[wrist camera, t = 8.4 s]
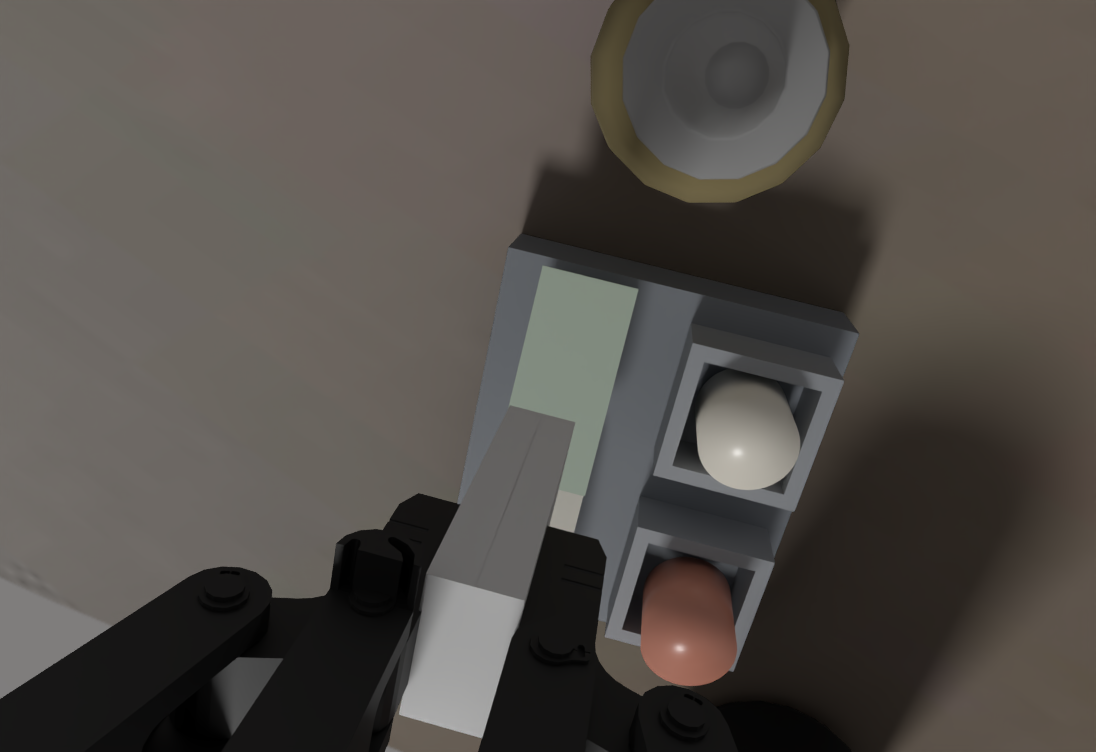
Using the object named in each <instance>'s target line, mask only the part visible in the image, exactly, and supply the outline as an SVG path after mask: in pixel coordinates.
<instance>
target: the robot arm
mask: <svg viewBox="0 0 1096 752" xmlns="http://www.w3.org/2000/svg"><path fill="white" fill-rule="evenodd" d="M574 426H575V422H573V421H569V420H565V419H561V418H557V417H554V416H550V415H546V414H542V413H538V412H534V411H530V410H527V409H523V408H519V407H515V406H511V405H510V406H509V408H508V410H507V412H506V414H505V416H504V418H503V420H502V422H501V424H500V426H499V428H498V430H497V432H496V434H495V436H494V438H493V440H492V442H491V444H490V446H489V448H488V450H487V452H486V454H485V456H484V458H483V460H482V462H481V464H480V466H479V468H478V470H477V472H476V474H475V476H474V478H473V480H472V482H471V484H470V486H469V488H468V490H467V492H466V494H465V496H464V498H463V500H462V502H461V504H457V503H453V502H449V501H445V500H442V499H438V498H434V497H431V496H427V495H423V494H419V493H418V494H416V495H415V496H413V497H411V498H409V499H407V500H406V501H404V502H402V503H400V504H399V506H398V507H397V509H396V510H395V512H394V513H393V515H392V516H391V518H390V521H389V522H388V523H387V524H386V526H385V527H384V529H383V530H378V529H374V530H360V531H357V532H354V533H351V534H349V535H346V536H345V537H343V538H342V539H341V540H340V541H339V542H337V543H336V549H335V557H334V564H333V571H332V578H331V585H330V589H329V591H328V592H327V594H326V595H325V596H320V597H315V598H302V599H293V598H272V589H271V587H270V585H269V583H268V581H267V580H266V579H264V578H263V577H262V576H260V575H259V574H257V573H256V572H253V571H250V570H247V569H243V568H240V567H217V568H212V569H206V570H203V571H200V572H198V573H196V574H194V575H192V576H189V577H188V578H186V579H185V580H183V581H182V582H180V583H178V584H177V585H175V586H174V587H172V588H171V589H169V590H168V591H166V592H165V593H163V594H161V595H160V596H158V597H157V598H155V599H154V600H152V601H151V602H149V603H148V604H146V605H144V606H143V607H141V608H140V609H138V610H137V611H135V612H134V613H132V614H131V615H129V616H128V617H126V618H124V619H123V620H121V621H120V622H118V623H117V624H115V625H114V626H112V627H111V628H109V629H108V630H106V631H104V632H103V633H101V634H100V635H98V636H97V637H95V638H94V639H92V640H90V641H89V642H87V643H86V644H84V645H83V646H81V647H80V648H78V649H77V650H75V651H74V652H72V653H70V654H69V655H67V656H66V657H64V658H63V659H61V660H60V661H58V662H57V663H55V664H53V665H52V666H51V667H49V668H47V669H46V670H44V671H43V672H41V673H40V674H38V675H37V676H35V677H33V678H32V679H30V680H29V681H27V682H26V683H24V684H23V685H21V686H20V687H18V688H16V689H15V690H13V691H12V692H10V693H9V694H7V695H6V696H4V697H3V698H1V699H0V752H385V749H386V747H387V745H388V742H389V739H390V733H391V728H392V722H393V717H394V715H395V712H396V710H397V708H398V705H399V703H400V701H401V699H402V702H401V707H400V712H399V715H402V716H406V717H409V718H413V719H416V720H420V721H423V722H427V723H430V724H434V725H437V726H441V727H444V728H448V729H451V730H455V731H458V732H462V733H465V734H469V735H472V736H476V737H479V738H482V741H481V744H480V747H479V751H478V752H738V750H737V747H736V745H735V742H734V739H733V737H732V734H731V731H730V729H729V726H728V724H727V722H726V720H725V719H724V717H723V715H722V714H721V712H720V710H718V709H717V708H716V707H715V706H714V705H713V704H712V703H711V702H710V701H709V700H707V699H706V698H705V697H703V696H701V695H699V694H697V693H695V692H693V691H692V690H689V689H685V688H681V687H677V686H673V685H672V686H657V687H655V688H653V689H651V690H649V691H647V692H645V693H644V695H643V696H641V695H639V694H637V693H635V692H633V691H631V690H630V689H628V688H626V687H625V686H623V685H622V684H620V683H619V682H617V681H616V680H614V679H613V678H612V677H611V676H610V675H609V674H608V673H607V672H606V671H605V669H604V668H603V667H602V665H601V664H600V662H599V660H598V657H597V655H596V652H595V640H596V633H597V626H598V618H599V611H600V604H601V596H602V589H603V582H604V574H605V567H606V560H607V557H606V555H605V553H604V550H603V548H602V546H601V544H600V542H599V540H598V539H595V538H591V537H587V536H583V535H580V534H576V533H572V532H569V531H565V530H561V529H557V528H554V527H550V522H551V518H552V514H553V510H554V506H555V502H556V498H557V494H558V490H559V486H560V482H561V478H562V474H563V470H564V466H565V462H566V458H567V454H568V450H569V446H570V442H571V438H572V434H573V430H574ZM402 696H403V697H402Z"/></svg>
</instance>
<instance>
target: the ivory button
mask: <svg viewBox="0 0 1096 752" xmlns="http://www.w3.org/2000/svg"><path fill="white" fill-rule="evenodd" d="M695 421H696V433H697V446H698V453H699V457H700V460H701V463H702V465H703V466H704V468H705V469H706V471H707V472H708V473H709V474H710V475H711V476H712V477H713V478H714V479H715V480H717V481H718V482H720V483H722V484H724V485H726V486H728V487H731V488H735V489H740V490H755V489H761V488H765V487H768V486H770V485H773V484H774V483H776V482H778V481H780V480H781V479H782V478H784V477H785V476H786V475H787V474H788V473H789V472H790V470H791V469H792V468H793V466H794V465H795V463H796V461H797V458H798V455H799V451H800V436H799V432H798V429H797V426H796V423H795V421H794V418H793V415H792V413H791V410H790V407H789V404H788V402H787V399H786V396H785V394H784V392H783V389H782V388H781V386H780V385H779V383H778V382H777V381H776V380H774V379H770V378H766V377H762V376H758V375H754V374H750V373H746V372H742V371H738V370H734V369H730V368H729V369H726V370H723V371H721V372H719V373H717V374H715V375H714V376H712V377H711V378H710V379H709V380H708V381H707V382H706V383H705V384H704V385H703V386H702V388H701V389H700V391H699V393H698V395H697V398H696V402H695Z"/></svg>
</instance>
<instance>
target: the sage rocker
mask: <svg viewBox="0 0 1096 752" xmlns="http://www.w3.org/2000/svg"><path fill="white" fill-rule="evenodd" d="M637 293H638V289H637V288H633V287H629V286H625V285H620V284H616V283H612V282H608V281H604V280H600V279H596V278H592V277H588V276H584V275H580V274H576V273H572V272H568V271H564V270H560V269H556V268H552V267H548V266H542V270H541V274H540V279H539V283H538V287H537V291H536V295H535V299H534V304H533V308H532V312H531V316H530V320H529V324H528V328H527V333H526V337H525V341H524V345H523V349H522V353H521V357H520V362H519V366H518V370H517V374H516V378H515V382H514V387H513V391H512V395H511V399H510V403H509V406H510V405H511V406H515V407H519V408H523V409H527V410H530V411H534V412H538V413H542V414H546V415H550V416H554V417H557V418H561V419H565V420H569V421H573V422H575V426H574V430H573V434H572V438H571V442H570V446H569V450H568V454H567V458H566V462H565V466H564V470H563V474H562V478H561V482H560V486H559V490H562V491H566V492H570V493H573V494H577V495H581V496H585V494H586V490H587V486H588V483H589V479H590V475H591V471H592V467H593V463H594V459H595V456H596V452H597V448H598V444H599V440H600V436H601V432H602V429H603V425H604V421H605V417H606V413H607V409H608V405H609V402H610V398H611V394H612V390H613V386H614V382H615V378H616V374H617V371H618V367H619V363H620V359H621V355H622V351H623V347H624V344H625V340H626V336H627V332H628V328H629V324H630V320H631V317H632V313H633V309H634V305H635V301H636V297H637ZM508 408H509V407H508Z"/></svg>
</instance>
